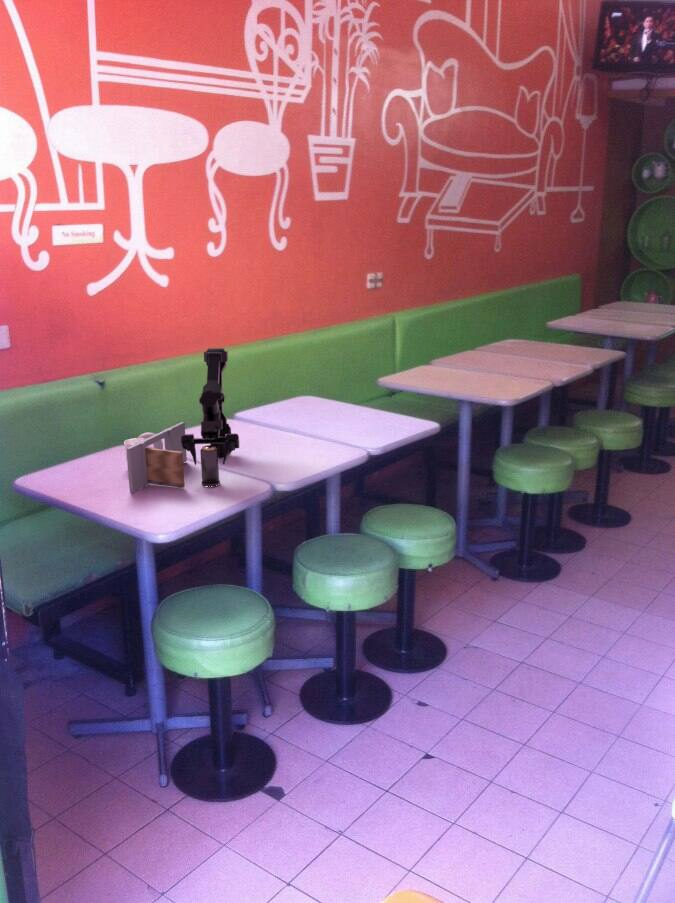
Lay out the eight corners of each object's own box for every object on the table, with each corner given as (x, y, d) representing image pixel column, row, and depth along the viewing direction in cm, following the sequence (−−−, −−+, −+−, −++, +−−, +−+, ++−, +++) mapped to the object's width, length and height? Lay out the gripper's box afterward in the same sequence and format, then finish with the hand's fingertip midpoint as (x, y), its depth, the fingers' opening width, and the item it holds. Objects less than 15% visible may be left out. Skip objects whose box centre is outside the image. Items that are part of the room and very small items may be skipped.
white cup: (152, 469, 297) (150, 441, 295) (131, 473, 293) (128, 445, 290) (144, 463, 304) (142, 436, 301) (122, 467, 299) (120, 440, 297)
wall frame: (182, 462, 306) (180, 421, 301) (188, 462, 305) (186, 422, 300) (128, 492, 275) (124, 448, 271) (134, 493, 274) (131, 448, 270)
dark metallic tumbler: (207, 480, 286) (205, 443, 282) (223, 482, 284) (221, 445, 280) (198, 486, 281) (196, 448, 277) (214, 488, 279) (212, 450, 275)
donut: (135, 460, 307) (133, 434, 304) (136, 458, 310) (134, 431, 307) (163, 460, 308) (161, 433, 305) (164, 457, 311) (162, 430, 308)
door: (145, 483, 282) (142, 448, 278) (147, 482, 283) (145, 447, 280) (182, 488, 277) (180, 452, 274) (184, 487, 278) (182, 451, 275)
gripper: (180, 410, 279) (177, 452, 272) (237, 409, 280) (236, 451, 273) (184, 427, 289) (182, 468, 282) (239, 426, 290) (238, 467, 283)
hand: (209, 464), depth 279 cm, fingers open, 9 cm apart
